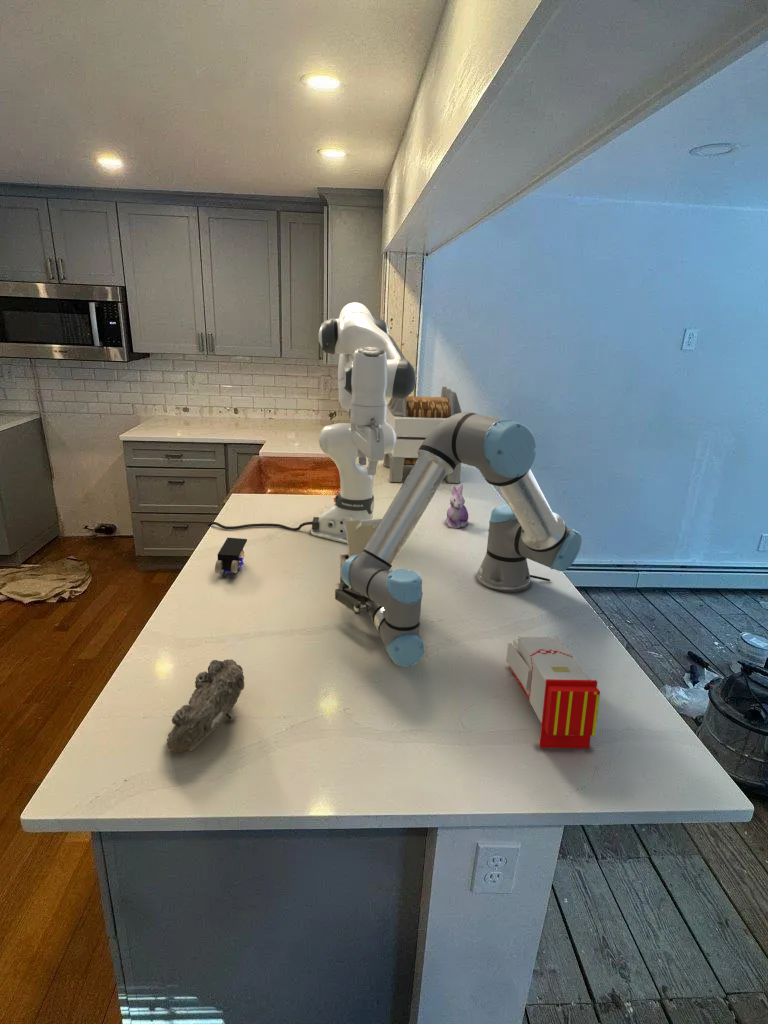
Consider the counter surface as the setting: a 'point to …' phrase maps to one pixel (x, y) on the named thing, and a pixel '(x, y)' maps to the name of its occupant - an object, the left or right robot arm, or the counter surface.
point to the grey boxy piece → (417, 429)
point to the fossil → (206, 705)
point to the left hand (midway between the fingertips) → (366, 469)
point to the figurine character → (230, 556)
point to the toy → (555, 691)
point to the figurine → (457, 509)
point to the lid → (359, 534)
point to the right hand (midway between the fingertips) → (366, 577)
